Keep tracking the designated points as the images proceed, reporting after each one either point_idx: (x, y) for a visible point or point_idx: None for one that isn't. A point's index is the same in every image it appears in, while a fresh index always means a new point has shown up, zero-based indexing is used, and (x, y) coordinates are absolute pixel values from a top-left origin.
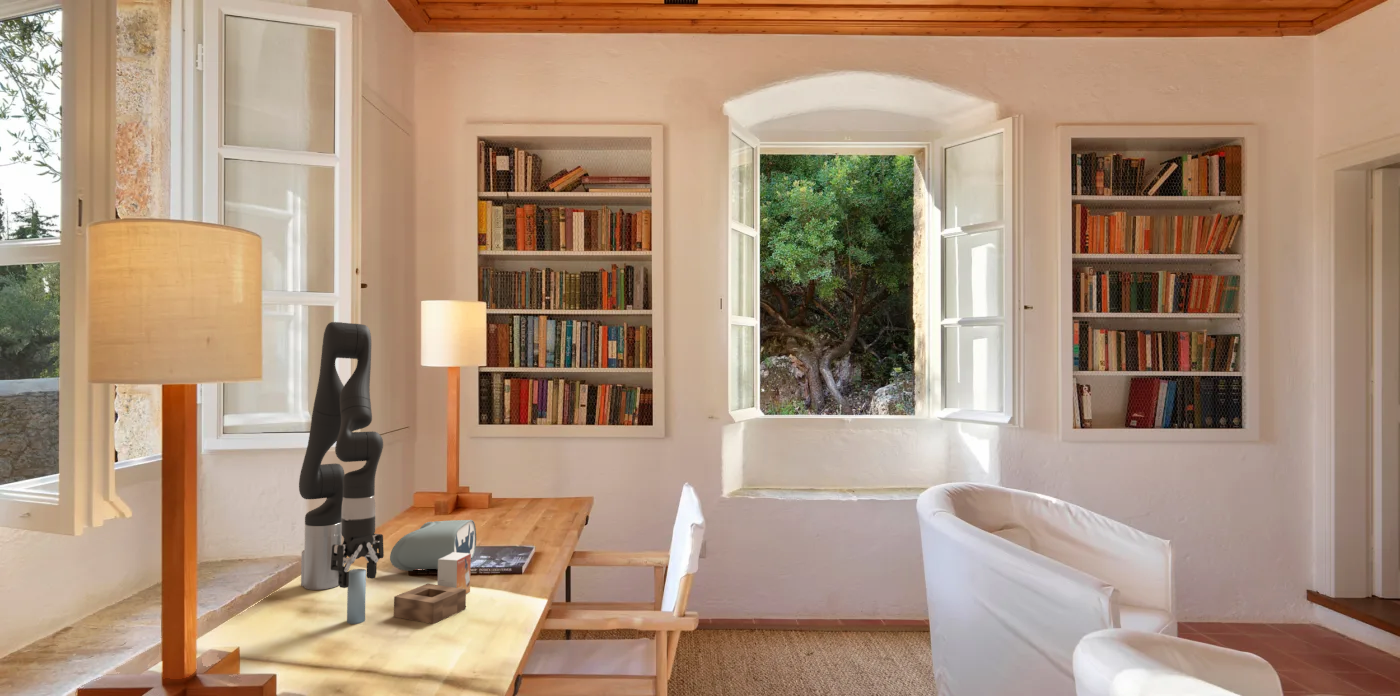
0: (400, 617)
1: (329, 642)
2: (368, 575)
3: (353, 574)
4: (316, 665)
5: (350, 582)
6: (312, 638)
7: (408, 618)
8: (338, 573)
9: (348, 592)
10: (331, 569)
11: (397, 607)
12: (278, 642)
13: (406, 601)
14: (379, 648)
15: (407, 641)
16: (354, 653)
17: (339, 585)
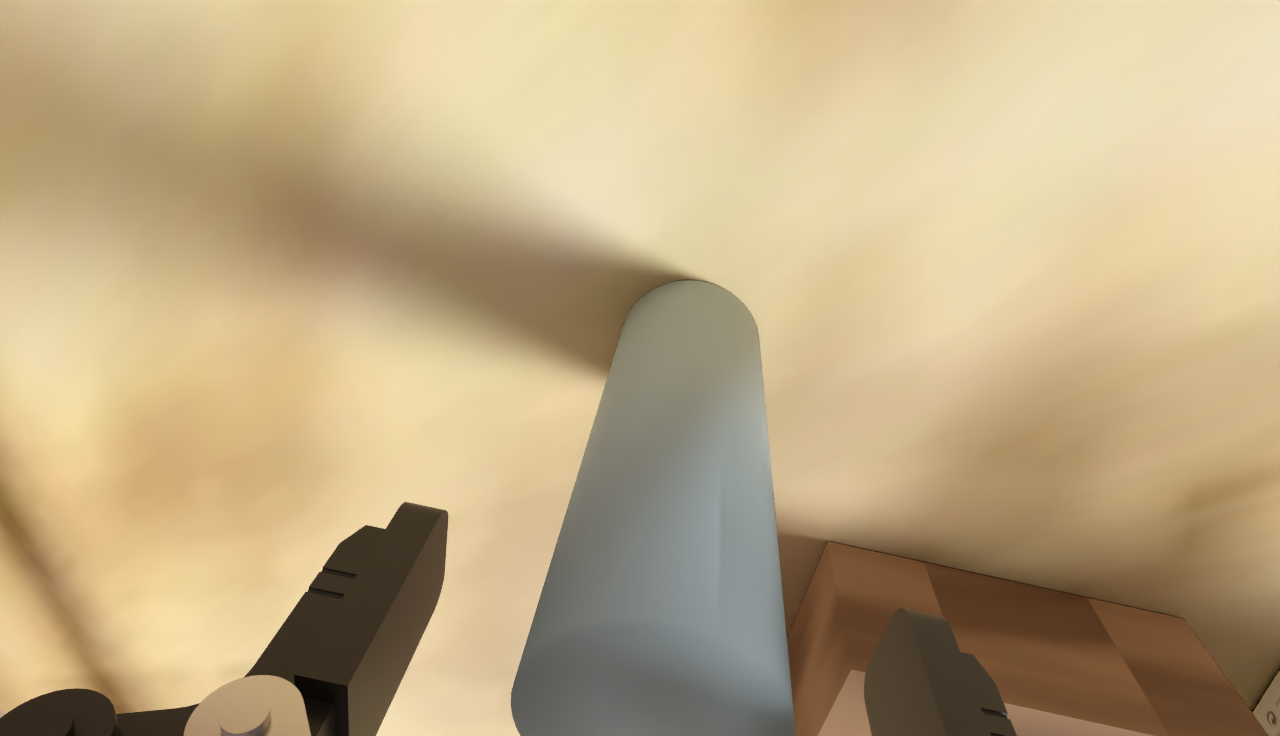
0: (810, 588)
1: (269, 400)
2: (896, 652)
3: (521, 713)
4: (11, 510)
5: (545, 580)
6: (265, 249)
7: (790, 638)
8: (250, 670)
9: (581, 464)
10: (21, 718)
11: (825, 622)
12: (67, 38)
13: (805, 731)
14: None
15: (465, 729)
16: (223, 593)
17: (363, 535)
